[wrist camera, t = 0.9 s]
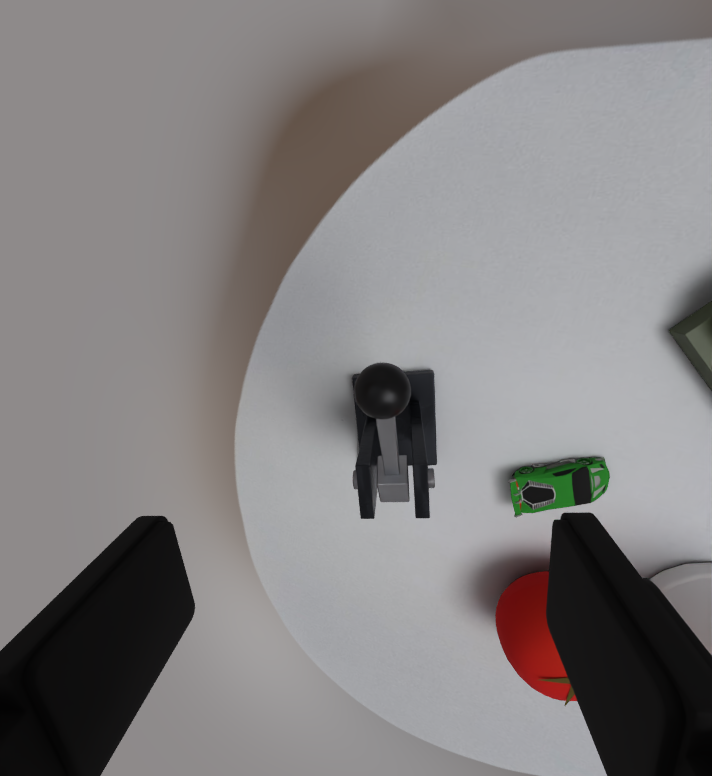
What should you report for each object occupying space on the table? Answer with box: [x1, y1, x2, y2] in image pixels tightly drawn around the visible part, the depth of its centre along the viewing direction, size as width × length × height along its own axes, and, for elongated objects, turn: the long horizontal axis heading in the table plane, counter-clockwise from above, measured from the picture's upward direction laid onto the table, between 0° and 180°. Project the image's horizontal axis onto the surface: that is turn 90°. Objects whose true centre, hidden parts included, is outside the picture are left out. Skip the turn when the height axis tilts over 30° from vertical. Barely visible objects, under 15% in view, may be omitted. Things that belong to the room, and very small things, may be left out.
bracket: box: [352, 370, 437, 519], centre depth 34 cm, size 10×8×14 cm
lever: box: [354, 363, 411, 502], centre depth 25 cm, size 13×3×3 cm
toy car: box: [509, 458, 610, 517], centre depth 39 cm, size 10×5×2 cm, turn 105°
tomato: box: [495, 571, 577, 705], centre depth 40 cm, size 12×12×10 cm
